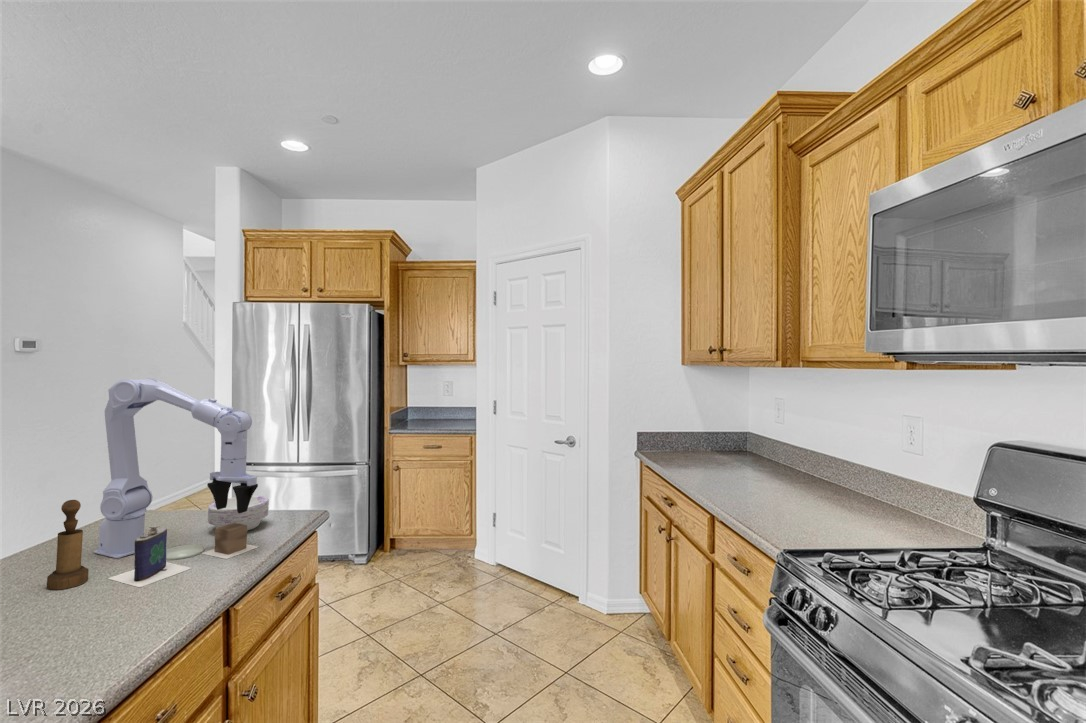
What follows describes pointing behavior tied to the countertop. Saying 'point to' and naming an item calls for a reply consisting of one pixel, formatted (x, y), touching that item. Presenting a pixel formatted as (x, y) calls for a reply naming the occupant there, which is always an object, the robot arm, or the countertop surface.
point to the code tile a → (164, 573)
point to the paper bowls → (230, 515)
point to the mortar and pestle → (69, 552)
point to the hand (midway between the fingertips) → (231, 510)
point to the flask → (150, 553)
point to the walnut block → (230, 538)
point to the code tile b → (225, 556)
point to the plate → (184, 551)
